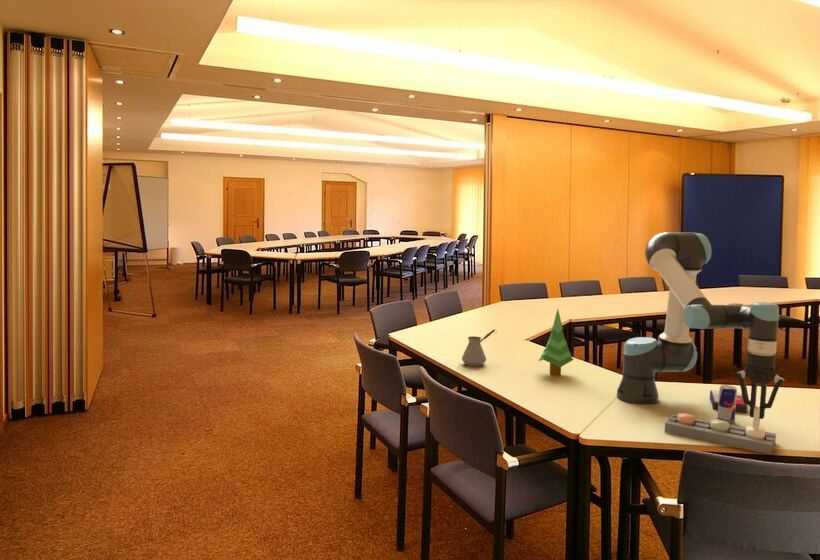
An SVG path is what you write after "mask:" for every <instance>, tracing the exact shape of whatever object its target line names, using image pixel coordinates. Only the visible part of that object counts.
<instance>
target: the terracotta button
mask: <svg viewBox="0 0 820 560" xmlns="http://www.w3.org/2000/svg"><path fill="white" fill-rule="evenodd" d="M677 414H678V416H677V423H682V424H687V425H692V426H694V423H695V418H696V416H695V415H693V414H692V413H687V412H679V413H677Z"/></svg>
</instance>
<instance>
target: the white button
mask: <svg viewBox="0 0 820 560" xmlns="http://www.w3.org/2000/svg"><path fill="white" fill-rule="evenodd" d="M745 428H746V434H745V437H750V438H755V439H760V440H765V432H766V430H765V429H764V428H761V427H759V429H758V430H757V429H753V425H748V426H745Z"/></svg>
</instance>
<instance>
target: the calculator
mask: <svg viewBox="0 0 820 560" xmlns="http://www.w3.org/2000/svg"><path fill="white" fill-rule="evenodd" d="M709 401H710V404H711V407H712V410H714V411H718V403H719V389H718V390H717V389H711V390H710V391H709ZM738 412H740V414H741V413H742V414H747V413H748V405H747V404H744V402H743V397H742V392H737V398H736V411H735V413H738Z"/></svg>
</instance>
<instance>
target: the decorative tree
mask: <svg viewBox="0 0 820 560" xmlns="http://www.w3.org/2000/svg"><path fill="white" fill-rule="evenodd" d="M553 320H554V321H553V324H552V328H551V331H550V334H549V335H550V336H549V338H548V341H547V344H546V346H545V348H544V349H543V351H542V353H541V355H540V357H539V359H538V361H539V362H541V361H545V362H548V363H549V375H550V376H551V377H560V376H562V367H564V366H566V365H567V364H569V363H570V362H572V361H574V358H573V357H572V353H571V352H570V348H569V347H568V343H567V340H566V339H565V334H564V331H563V329H564V327H563V324H562V320H561V315H560V312H559V308H557V310H556V312H555V317H554V319H553Z"/></svg>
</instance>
